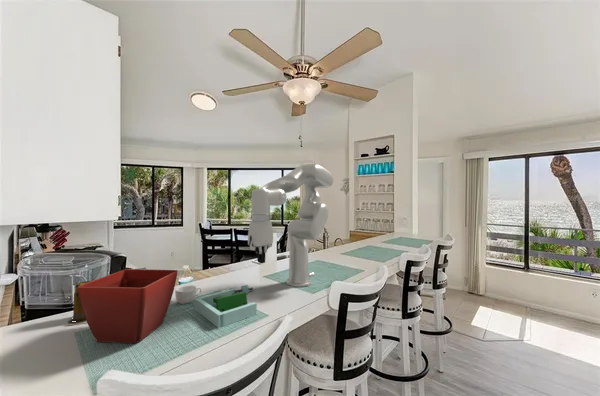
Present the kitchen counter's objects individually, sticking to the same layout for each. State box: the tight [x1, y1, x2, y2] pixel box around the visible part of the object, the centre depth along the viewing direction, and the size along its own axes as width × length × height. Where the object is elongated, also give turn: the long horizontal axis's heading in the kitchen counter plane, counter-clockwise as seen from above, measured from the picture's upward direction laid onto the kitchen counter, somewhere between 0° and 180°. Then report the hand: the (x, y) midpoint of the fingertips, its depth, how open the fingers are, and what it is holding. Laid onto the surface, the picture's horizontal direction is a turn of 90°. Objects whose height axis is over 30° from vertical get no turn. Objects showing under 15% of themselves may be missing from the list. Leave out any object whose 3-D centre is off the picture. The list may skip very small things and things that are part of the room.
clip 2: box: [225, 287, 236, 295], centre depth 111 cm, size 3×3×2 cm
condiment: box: [64, 280, 92, 327], centre depth 87 cm, size 7×8×12 cm
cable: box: [235, 287, 254, 293], centre depth 108 cm, size 25×5×1 cm, turn 134°
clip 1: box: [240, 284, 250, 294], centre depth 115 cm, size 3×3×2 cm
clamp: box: [213, 292, 248, 312], centre depth 96 cm, size 12×6×9 cm, turn 122°
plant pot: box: [78, 268, 178, 344], centre depth 79 cm, size 19×19×17 cm
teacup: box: [174, 284, 202, 305], centre depth 104 cm, size 10×8×5 cm
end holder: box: [193, 289, 257, 329], centre depth 94 cm, size 14×20×4 cm
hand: (261, 262), depth 107 cm, fingers closed
